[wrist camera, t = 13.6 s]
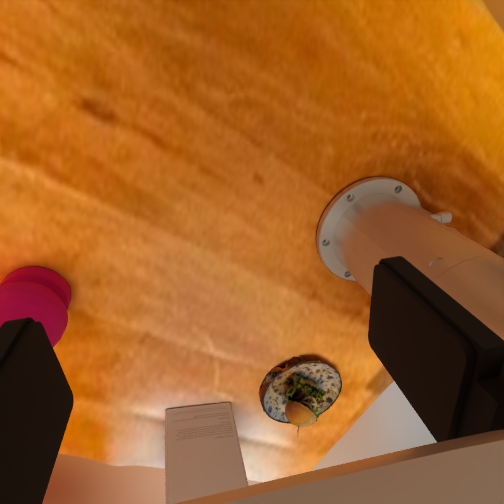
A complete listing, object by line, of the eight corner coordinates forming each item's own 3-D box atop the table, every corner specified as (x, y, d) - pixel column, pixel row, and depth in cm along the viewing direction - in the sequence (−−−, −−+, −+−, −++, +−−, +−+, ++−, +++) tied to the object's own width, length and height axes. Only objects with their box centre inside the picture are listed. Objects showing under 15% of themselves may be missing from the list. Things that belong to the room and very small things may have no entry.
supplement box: (164, 451, 52) (166, 581, 39) (164, 407, 48) (166, 535, 35) (227, 443, 54) (248, 563, 41) (232, 400, 50) (257, 518, 37)
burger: (332, 406, 56) (354, 451, 49) (257, 420, 54) (270, 469, 47) (342, 346, 50) (368, 388, 44) (259, 359, 48) (274, 405, 42)
